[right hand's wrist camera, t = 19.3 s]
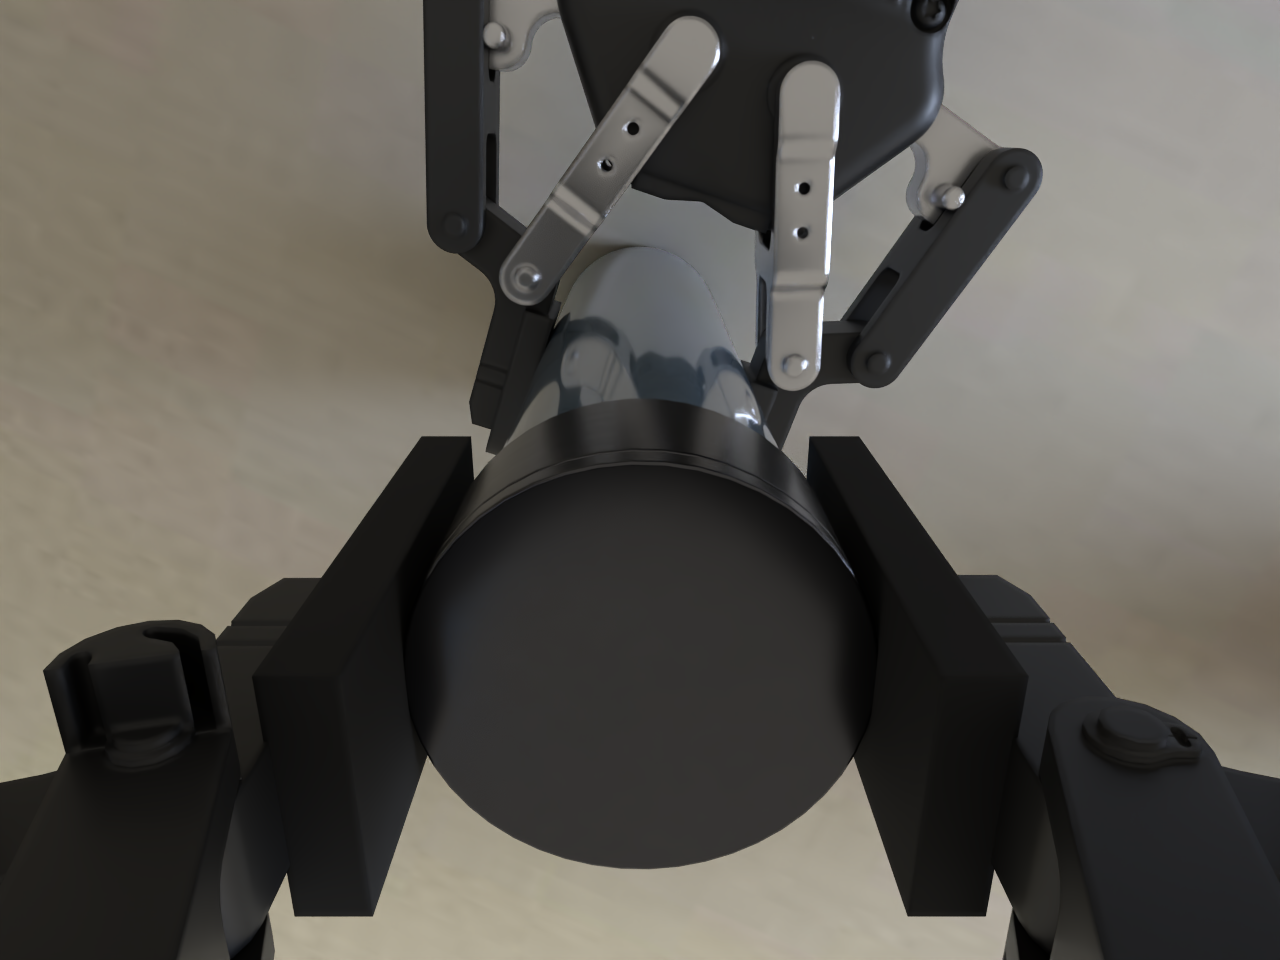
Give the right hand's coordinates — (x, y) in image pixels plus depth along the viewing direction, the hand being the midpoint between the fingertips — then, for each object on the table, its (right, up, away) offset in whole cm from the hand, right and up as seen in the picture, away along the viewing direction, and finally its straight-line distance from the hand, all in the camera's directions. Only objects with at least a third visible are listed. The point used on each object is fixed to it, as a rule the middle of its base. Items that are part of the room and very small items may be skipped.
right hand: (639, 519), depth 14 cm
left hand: (-1, +1, +9) cm, 9 cm away
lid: (0, -1, -4) cm, 4 cm away
